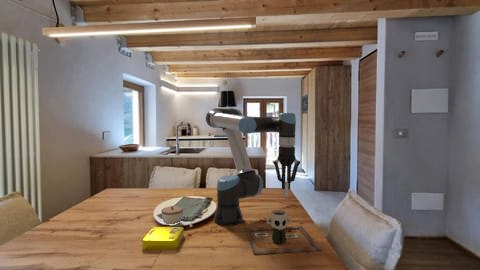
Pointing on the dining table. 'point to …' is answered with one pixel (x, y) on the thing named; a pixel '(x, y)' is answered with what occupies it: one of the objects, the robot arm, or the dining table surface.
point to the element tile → (163, 238)
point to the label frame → (314, 244)
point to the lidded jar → (172, 214)
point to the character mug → (279, 225)
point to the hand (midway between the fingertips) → (285, 195)
